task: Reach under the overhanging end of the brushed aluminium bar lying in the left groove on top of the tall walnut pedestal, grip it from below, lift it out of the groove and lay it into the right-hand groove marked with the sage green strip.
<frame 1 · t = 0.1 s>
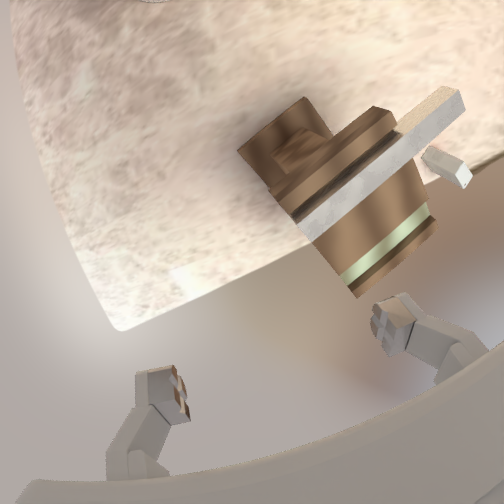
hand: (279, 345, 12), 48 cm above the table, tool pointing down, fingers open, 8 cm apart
skincare box: (430, 157, 66), on the table
aluminium bar: (379, 150, 33), point 26 cm above the table, touching walnut pedestal
walnut pedestal: (295, 153, 58), on the table
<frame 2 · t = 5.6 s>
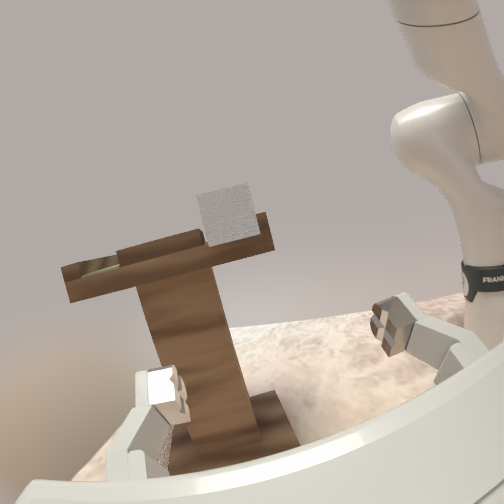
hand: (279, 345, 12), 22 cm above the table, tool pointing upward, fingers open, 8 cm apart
aluminium bar: (224, 239, 31), point 26 cm above the table, touching walnut pedestal
walnut pedestal: (231, 439, 37), on the table
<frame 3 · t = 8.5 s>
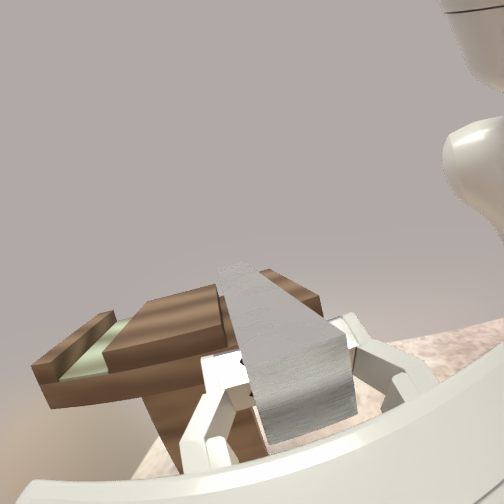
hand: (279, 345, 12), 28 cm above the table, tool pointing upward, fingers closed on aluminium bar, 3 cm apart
aluminium bar: (254, 324, 22), point 26 cm above the table, touching gripper, walnut pedestal
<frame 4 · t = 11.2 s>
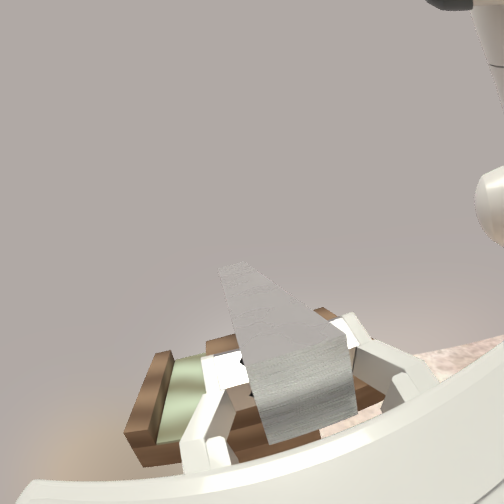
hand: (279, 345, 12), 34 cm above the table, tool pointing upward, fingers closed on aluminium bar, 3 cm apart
aluminium bar: (255, 323, 22), point 32 cm above the table, touching gripper
when the fingers open (29 cm above the table, at t = 14.3 s): aluminium bar stays where it is, resting on walnut pedestal.
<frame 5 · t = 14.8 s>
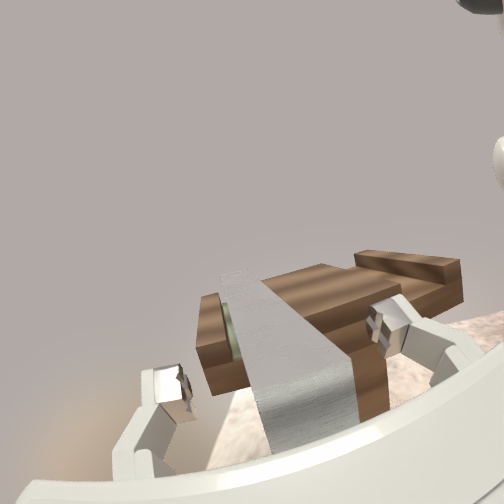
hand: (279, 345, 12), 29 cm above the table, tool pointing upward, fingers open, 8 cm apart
aluminium bar: (258, 334, 22), point 26 cm above the table, touching walnut pedestal
walnut pedestal: (348, 488, 29), on the table
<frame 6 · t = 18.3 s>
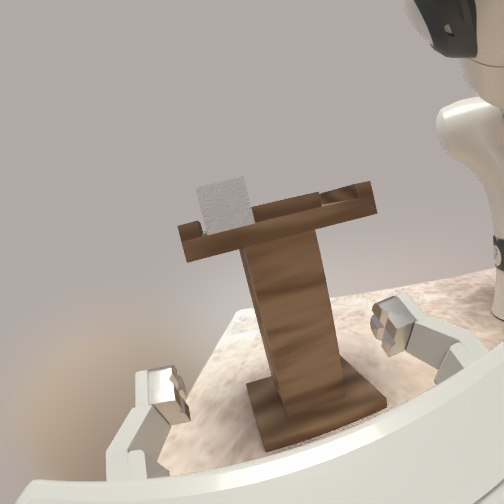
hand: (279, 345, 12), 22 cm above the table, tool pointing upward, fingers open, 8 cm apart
aluminium bar: (221, 228, 32), point 26 cm above the table, touching walnut pedestal
walnut pedestal: (310, 400, 41), on the table
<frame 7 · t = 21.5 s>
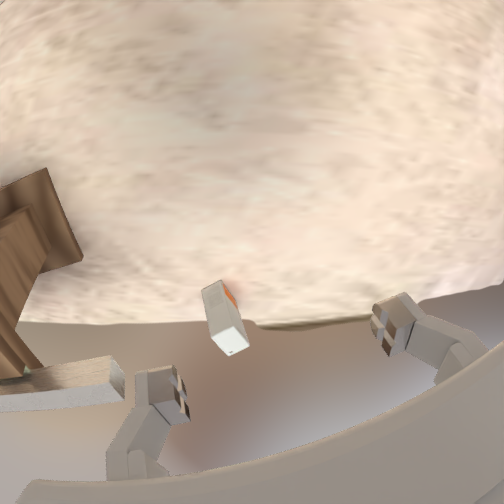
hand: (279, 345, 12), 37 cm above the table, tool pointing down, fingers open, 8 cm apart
skincare box: (218, 293, 58), on the table
aluminium bar: (17, 380, 24), point 26 cm above the table, touching walnut pedestal
walnut pedestal: (26, 228, 41), on the table
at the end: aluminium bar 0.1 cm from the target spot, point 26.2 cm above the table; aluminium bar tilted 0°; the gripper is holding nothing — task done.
